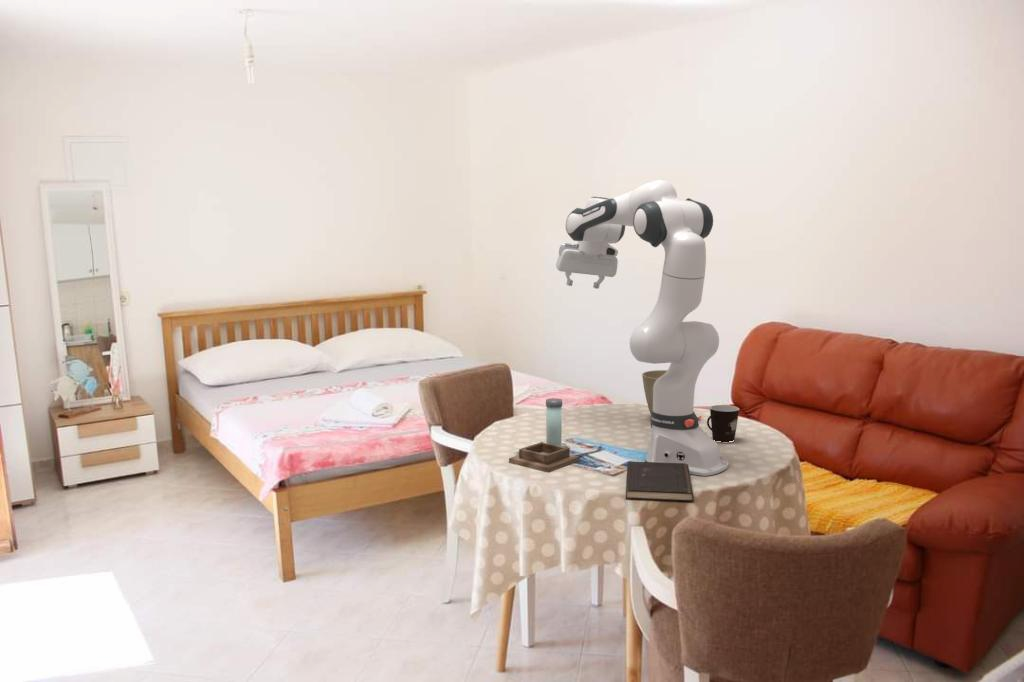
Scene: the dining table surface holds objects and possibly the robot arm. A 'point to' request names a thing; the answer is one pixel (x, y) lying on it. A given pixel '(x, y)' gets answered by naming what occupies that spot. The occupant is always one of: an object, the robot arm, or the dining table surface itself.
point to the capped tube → (554, 421)
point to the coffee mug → (723, 422)
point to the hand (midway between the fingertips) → (582, 286)
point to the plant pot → (651, 385)
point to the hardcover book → (658, 481)
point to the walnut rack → (544, 457)
